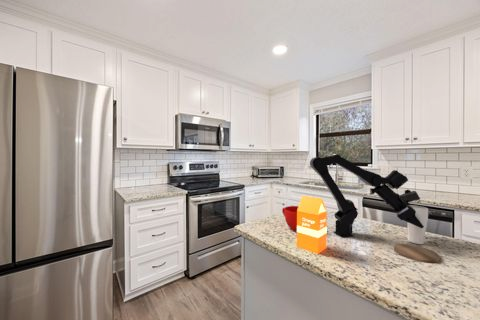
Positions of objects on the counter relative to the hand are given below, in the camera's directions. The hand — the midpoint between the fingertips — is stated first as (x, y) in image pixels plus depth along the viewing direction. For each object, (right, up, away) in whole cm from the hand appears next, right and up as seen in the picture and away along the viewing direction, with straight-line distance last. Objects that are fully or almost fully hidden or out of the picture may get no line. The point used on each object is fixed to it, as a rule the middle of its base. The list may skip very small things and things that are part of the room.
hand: (421, 225), depth 86 cm
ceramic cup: (-48, -7, +18) cm, 52 cm away
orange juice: (-47, -8, -4) cm, 48 cm away
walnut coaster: (-10, -8, -9) cm, 16 cm away
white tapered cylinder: (-2, -8, +1) cm, 8 cm away
